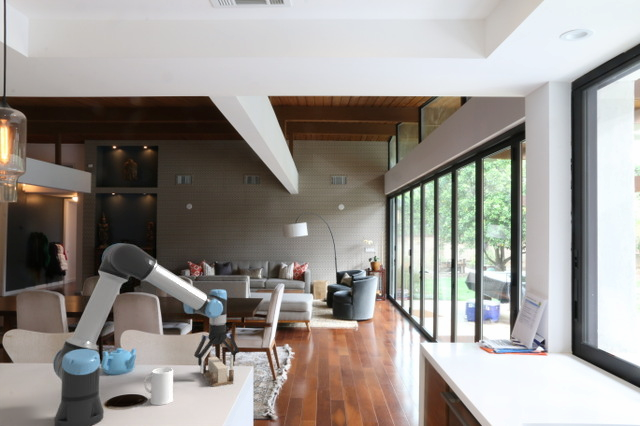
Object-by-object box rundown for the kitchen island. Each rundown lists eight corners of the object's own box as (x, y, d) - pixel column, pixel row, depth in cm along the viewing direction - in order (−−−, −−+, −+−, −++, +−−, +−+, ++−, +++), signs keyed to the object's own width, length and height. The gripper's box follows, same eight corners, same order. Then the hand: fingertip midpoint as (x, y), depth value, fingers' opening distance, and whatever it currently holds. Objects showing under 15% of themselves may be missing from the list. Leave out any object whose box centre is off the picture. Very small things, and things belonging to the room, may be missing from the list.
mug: (138, 403, 172) (138, 371, 173) (151, 395, 181) (152, 365, 181) (165, 406, 170) (165, 374, 170) (177, 398, 178) (178, 367, 178)
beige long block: (227, 381, 196) (227, 367, 196) (218, 382, 194) (218, 368, 194) (216, 369, 213) (216, 356, 214) (207, 370, 212) (208, 357, 212)
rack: (234, 383, 196) (234, 370, 196) (211, 387, 191) (211, 374, 192) (221, 370, 216) (222, 358, 216) (200, 372, 211) (201, 361, 211)
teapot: (102, 368, 218) (103, 346, 218) (135, 365, 223) (136, 343, 224) (100, 377, 204) (100, 353, 204) (135, 373, 209) (136, 350, 210)
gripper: (241, 320, 214) (241, 365, 212) (188, 324, 203) (187, 371, 201) (246, 323, 207) (245, 369, 206) (191, 327, 196) (190, 376, 195)
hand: (216, 370), depth 204 cm, fingers open, 13 cm apart
